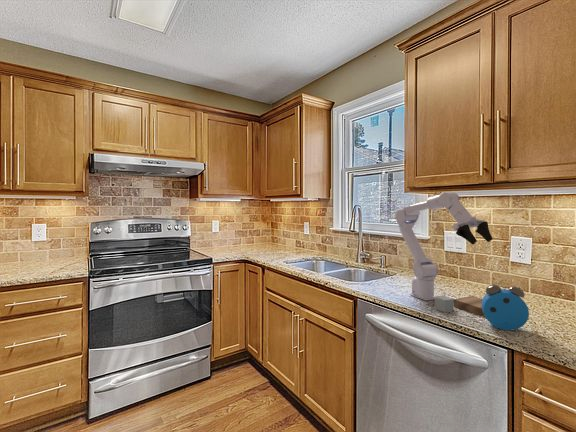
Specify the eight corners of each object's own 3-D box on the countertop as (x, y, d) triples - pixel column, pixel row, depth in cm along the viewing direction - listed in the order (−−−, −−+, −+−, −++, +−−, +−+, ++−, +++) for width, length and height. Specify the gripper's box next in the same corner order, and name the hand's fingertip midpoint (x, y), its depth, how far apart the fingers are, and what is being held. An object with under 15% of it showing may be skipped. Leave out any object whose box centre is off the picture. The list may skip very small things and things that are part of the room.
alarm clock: (523, 327, 110) (525, 285, 109) (529, 334, 104) (530, 290, 103) (480, 321, 115) (481, 281, 114) (483, 328, 110) (484, 286, 109)
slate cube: (434, 308, 130) (434, 296, 130) (443, 307, 132) (443, 295, 132) (444, 312, 125) (445, 300, 125) (453, 310, 127) (453, 298, 127)
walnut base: (453, 306, 132) (453, 299, 132) (472, 302, 137) (472, 295, 137) (481, 315, 121) (481, 308, 121) (500, 311, 126) (500, 304, 126)
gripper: (452, 210, 121) (473, 237, 113) (481, 206, 125) (504, 232, 117) (442, 221, 127) (462, 248, 118) (471, 218, 131) (492, 243, 122)
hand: (482, 241), depth 118 cm, fingers open, 7 cm apart
